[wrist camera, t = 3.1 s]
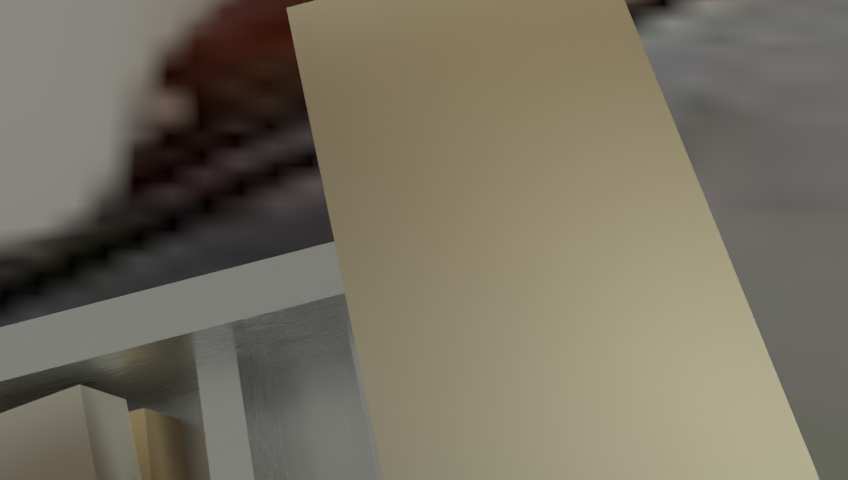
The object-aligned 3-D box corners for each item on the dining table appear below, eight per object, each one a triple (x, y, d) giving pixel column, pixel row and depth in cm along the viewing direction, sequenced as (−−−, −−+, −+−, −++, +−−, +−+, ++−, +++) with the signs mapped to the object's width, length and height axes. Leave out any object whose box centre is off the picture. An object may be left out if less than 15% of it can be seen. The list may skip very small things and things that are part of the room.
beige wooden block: (600, 534, 15) (851, 558, 4) (483, 563, 15) (420, 666, 4) (537, 321, 17) (595, -73, 6) (431, 348, 17) (286, 8, 6)
